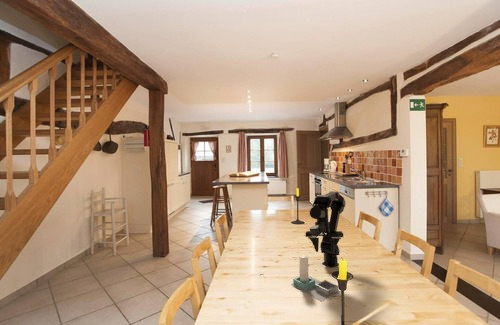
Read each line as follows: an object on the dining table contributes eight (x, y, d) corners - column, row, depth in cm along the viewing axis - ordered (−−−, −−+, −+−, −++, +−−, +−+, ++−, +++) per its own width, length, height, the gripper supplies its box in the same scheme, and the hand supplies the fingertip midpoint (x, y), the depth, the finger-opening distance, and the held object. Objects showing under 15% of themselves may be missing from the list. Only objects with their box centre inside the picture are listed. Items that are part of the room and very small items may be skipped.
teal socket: (293, 284, 121) (293, 278, 121) (304, 279, 125) (303, 274, 125) (304, 290, 116) (304, 284, 116) (315, 285, 120) (315, 280, 119)
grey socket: (315, 290, 116) (315, 284, 116) (325, 285, 120) (325, 279, 120) (327, 296, 110) (327, 290, 110) (338, 291, 114) (338, 285, 114)
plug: (297, 284, 121) (297, 256, 121) (304, 282, 123) (303, 254, 123) (304, 288, 118) (303, 259, 117) (310, 285, 120) (310, 257, 120)
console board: (290, 286, 121) (290, 284, 121) (310, 277, 129) (310, 276, 129) (321, 303, 107) (321, 301, 107) (341, 293, 114) (341, 291, 114)
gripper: (297, 219, 135) (299, 252, 131) (329, 218, 121) (331, 254, 117) (311, 220, 142) (313, 251, 137) (342, 219, 128) (345, 253, 124)
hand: (324, 252), depth 129 cm, fingers open, 9 cm apart
